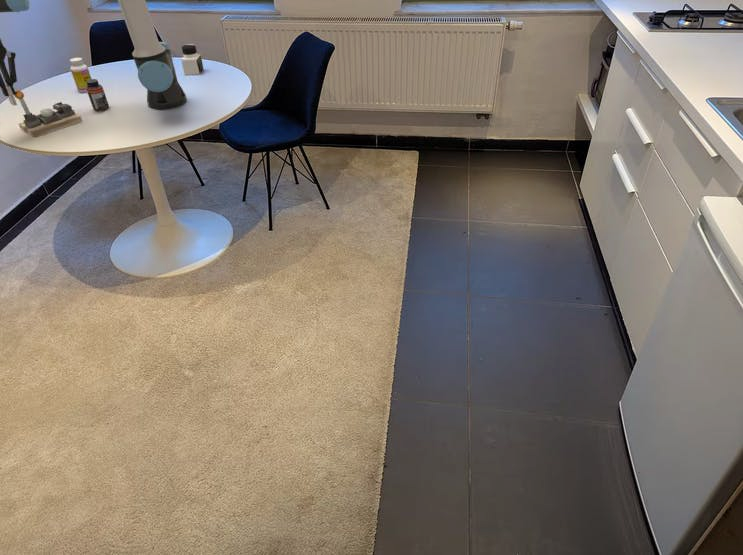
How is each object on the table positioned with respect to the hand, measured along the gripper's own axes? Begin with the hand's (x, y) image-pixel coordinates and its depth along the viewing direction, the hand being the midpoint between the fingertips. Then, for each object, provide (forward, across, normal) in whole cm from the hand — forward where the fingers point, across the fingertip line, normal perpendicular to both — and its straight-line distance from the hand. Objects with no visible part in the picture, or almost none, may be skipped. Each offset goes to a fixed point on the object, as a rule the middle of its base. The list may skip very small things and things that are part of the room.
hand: (14, 104), depth 192 cm
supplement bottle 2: (+10, -30, 0) cm, 31 cm away
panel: (+11, -10, 0) cm, 14 cm away
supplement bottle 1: (+10, -37, -26) cm, 46 cm away
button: (+7, -10, 0) cm, 12 cm away
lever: (+7, -4, 0) cm, 8 cm away
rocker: (+6, -15, 0) cm, 16 cm away
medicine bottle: (+9, -79, -6) cm, 79 cm away
